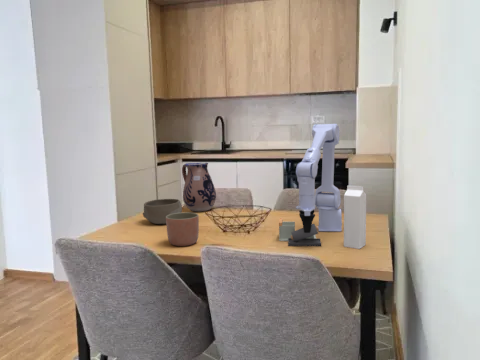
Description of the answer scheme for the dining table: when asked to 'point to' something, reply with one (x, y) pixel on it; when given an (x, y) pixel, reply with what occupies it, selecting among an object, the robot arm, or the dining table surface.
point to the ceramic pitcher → (198, 187)
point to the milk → (354, 217)
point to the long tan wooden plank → (280, 221)
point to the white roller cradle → (287, 231)
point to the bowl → (161, 209)
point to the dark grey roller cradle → (305, 242)
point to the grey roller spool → (301, 235)
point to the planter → (182, 228)
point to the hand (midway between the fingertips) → (307, 230)
